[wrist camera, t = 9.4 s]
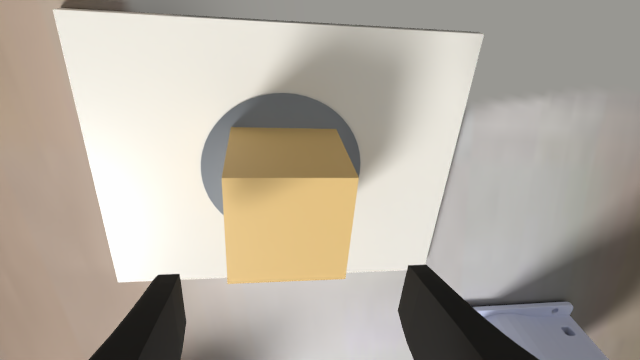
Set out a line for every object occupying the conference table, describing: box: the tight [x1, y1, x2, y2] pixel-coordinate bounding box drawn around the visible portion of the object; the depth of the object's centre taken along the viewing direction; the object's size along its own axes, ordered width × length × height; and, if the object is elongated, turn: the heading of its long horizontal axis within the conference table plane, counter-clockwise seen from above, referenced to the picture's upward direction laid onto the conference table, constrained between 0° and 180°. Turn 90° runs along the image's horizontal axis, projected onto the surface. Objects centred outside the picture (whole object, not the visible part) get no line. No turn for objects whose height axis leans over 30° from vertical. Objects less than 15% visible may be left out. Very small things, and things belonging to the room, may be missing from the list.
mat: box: [53, 8, 484, 282], centre depth 20 cm, size 18×14×1 cm
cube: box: [222, 127, 359, 284], centre depth 17 cm, size 5×5×5 cm
